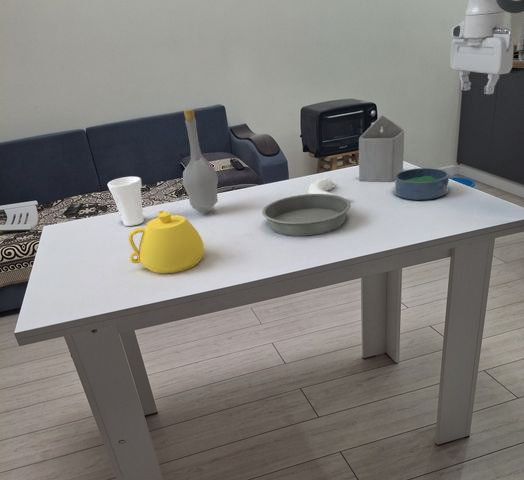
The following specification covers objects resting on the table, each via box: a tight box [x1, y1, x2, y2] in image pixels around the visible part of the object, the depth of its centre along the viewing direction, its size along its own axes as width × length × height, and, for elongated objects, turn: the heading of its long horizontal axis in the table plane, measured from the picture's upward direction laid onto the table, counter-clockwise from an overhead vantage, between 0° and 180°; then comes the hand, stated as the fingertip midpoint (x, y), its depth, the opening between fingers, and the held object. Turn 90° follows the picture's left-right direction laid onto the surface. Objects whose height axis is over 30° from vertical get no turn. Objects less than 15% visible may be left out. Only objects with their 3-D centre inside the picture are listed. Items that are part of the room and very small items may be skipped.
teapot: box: [127, 210, 206, 274], centre depth 135 cm, size 20×19×13 cm
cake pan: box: [261, 193, 351, 237], centre depth 151 cm, size 25×25×4 cm
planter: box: [358, 115, 405, 183], centre depth 174 cm, size 16×8×19 cm, turn 108°
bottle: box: [182, 108, 219, 214], centre depth 160 cm, size 11×11×30 cm
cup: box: [107, 176, 145, 227], centre depth 163 cm, size 10×10×13 cm
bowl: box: [394, 167, 450, 201], centre depth 161 cm, size 15×15×6 cm
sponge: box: [405, 176, 438, 182], centre depth 162 cm, size 8×5×4 cm, turn 106°
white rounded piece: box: [307, 178, 347, 199], centre depth 168 cm, size 5×19×15 cm
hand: (476, 91), depth 134 cm, fingers open, 8 cm apart
